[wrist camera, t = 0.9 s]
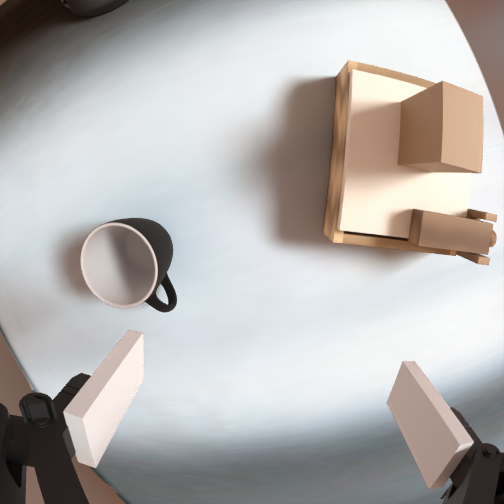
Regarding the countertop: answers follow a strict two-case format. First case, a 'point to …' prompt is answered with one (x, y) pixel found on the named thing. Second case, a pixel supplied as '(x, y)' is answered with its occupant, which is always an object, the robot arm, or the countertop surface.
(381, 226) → the lid
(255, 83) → the countertop surface
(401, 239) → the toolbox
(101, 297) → the mug
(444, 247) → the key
